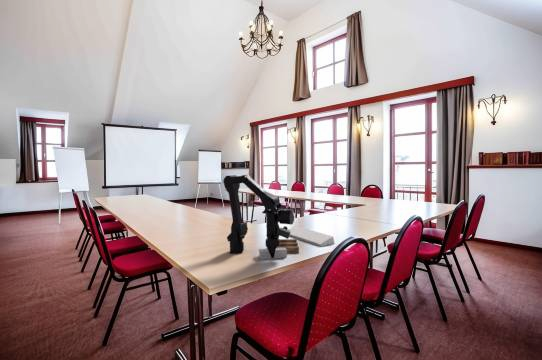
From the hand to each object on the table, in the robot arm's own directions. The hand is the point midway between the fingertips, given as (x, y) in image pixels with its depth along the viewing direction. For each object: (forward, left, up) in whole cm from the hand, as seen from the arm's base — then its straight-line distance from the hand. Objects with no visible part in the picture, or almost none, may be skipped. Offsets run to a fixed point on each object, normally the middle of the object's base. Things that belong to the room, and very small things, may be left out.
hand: (272, 254), depth 131 cm
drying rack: (+5, +14, -1) cm, 15 cm away
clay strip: (0, 0, -1) cm, 1 cm away
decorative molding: (+20, +33, -2) cm, 39 cm away
